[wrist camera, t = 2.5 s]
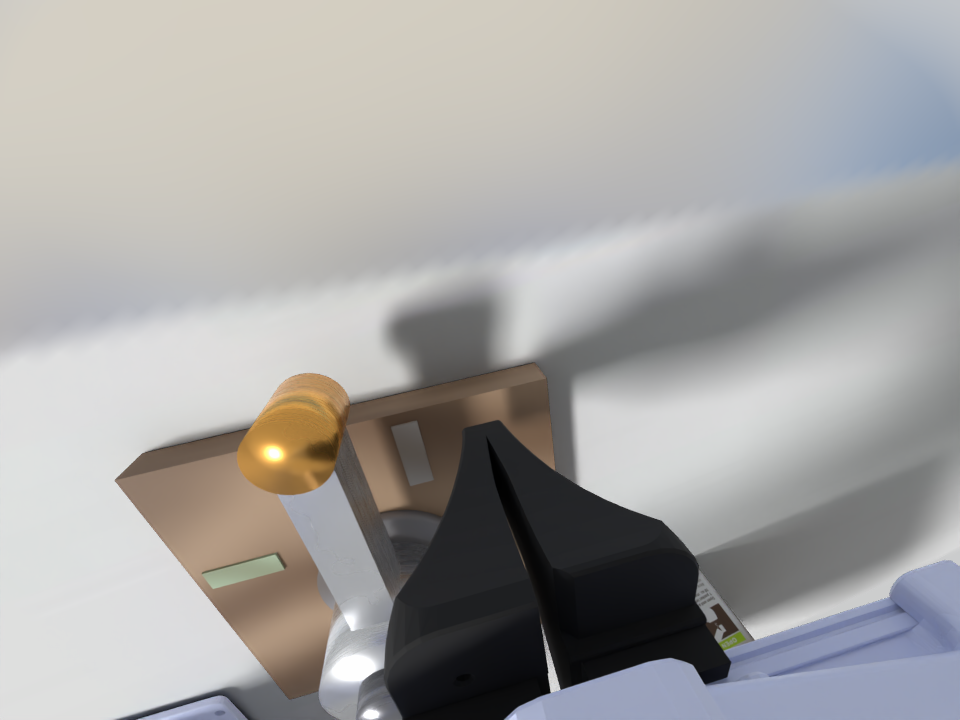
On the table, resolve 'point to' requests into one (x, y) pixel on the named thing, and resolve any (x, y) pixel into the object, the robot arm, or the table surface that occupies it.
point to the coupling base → (272, 535)
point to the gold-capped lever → (334, 534)
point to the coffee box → (720, 616)
